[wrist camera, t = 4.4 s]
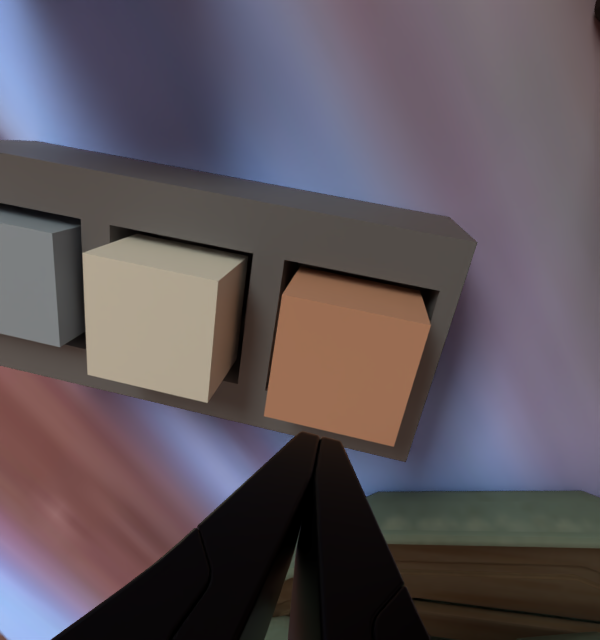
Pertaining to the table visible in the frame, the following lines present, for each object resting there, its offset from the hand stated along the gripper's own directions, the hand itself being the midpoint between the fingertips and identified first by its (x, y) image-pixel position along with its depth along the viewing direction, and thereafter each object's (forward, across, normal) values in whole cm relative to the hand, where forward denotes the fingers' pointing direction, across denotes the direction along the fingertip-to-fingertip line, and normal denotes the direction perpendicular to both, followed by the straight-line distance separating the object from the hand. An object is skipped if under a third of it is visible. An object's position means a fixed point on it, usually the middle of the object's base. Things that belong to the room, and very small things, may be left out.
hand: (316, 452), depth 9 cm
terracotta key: (+7, 0, 0) cm, 7 cm away
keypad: (+11, +6, 0) cm, 12 cm away
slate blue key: (+8, +11, 0) cm, 14 cm away
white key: (+7, +6, 0) cm, 9 cm away
